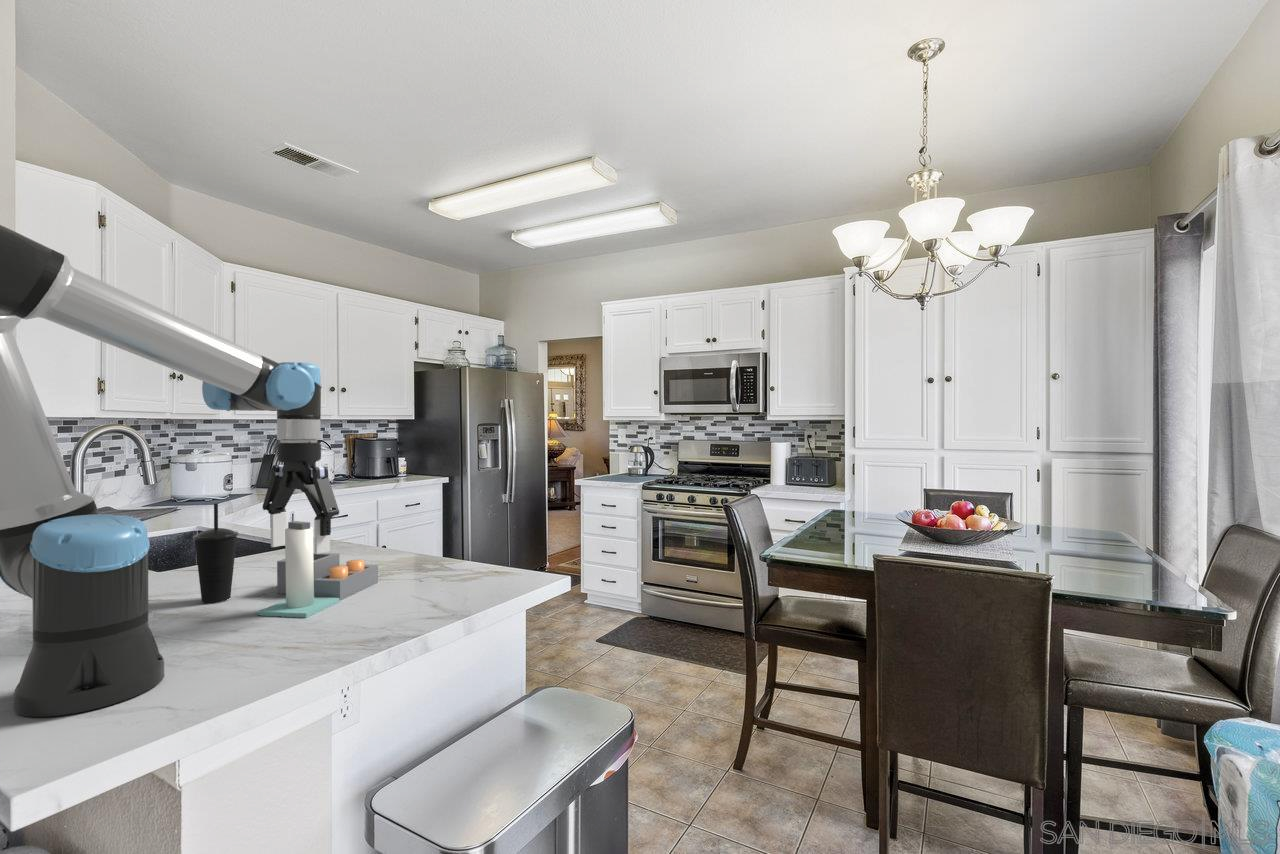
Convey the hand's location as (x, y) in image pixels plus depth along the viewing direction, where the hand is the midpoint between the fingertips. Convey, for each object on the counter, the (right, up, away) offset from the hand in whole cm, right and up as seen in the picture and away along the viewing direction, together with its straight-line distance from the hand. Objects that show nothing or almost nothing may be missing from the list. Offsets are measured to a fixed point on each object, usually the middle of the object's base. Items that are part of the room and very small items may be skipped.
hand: (299, 549), depth 118 cm
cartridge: (0, -11, 0) cm, 11 cm away
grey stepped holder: (-2, -12, +13) cm, 18 cm away
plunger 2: (+3, -11, +16) cm, 19 cm away
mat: (0, -12, 0) cm, 12 cm away
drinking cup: (-21, -12, +6) cm, 24 cm away
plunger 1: (+3, -11, +10) cm, 15 cm away
